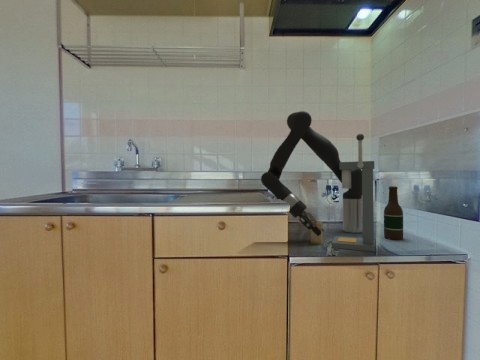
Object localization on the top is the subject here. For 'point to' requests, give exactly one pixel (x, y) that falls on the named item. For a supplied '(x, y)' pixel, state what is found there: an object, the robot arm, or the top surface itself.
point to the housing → (314, 237)
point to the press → (367, 203)
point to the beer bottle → (393, 217)
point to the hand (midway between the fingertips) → (320, 233)
